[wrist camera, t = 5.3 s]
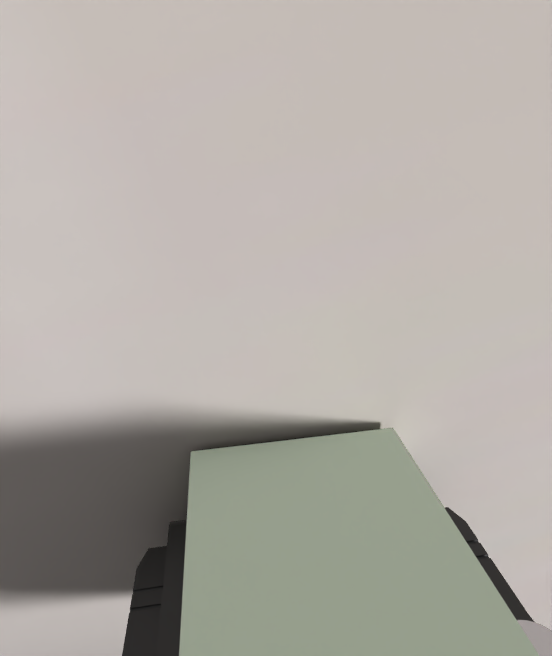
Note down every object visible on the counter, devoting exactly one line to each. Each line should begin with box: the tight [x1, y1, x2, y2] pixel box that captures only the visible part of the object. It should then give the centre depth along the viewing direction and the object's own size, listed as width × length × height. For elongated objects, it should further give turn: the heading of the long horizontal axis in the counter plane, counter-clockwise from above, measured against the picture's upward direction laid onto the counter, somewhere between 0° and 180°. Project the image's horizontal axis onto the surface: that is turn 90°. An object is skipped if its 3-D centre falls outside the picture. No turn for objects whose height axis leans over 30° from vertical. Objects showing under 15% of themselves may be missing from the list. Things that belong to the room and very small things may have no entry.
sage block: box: [179, 428, 539, 656], centre depth 9 cm, size 5×5×6 cm
